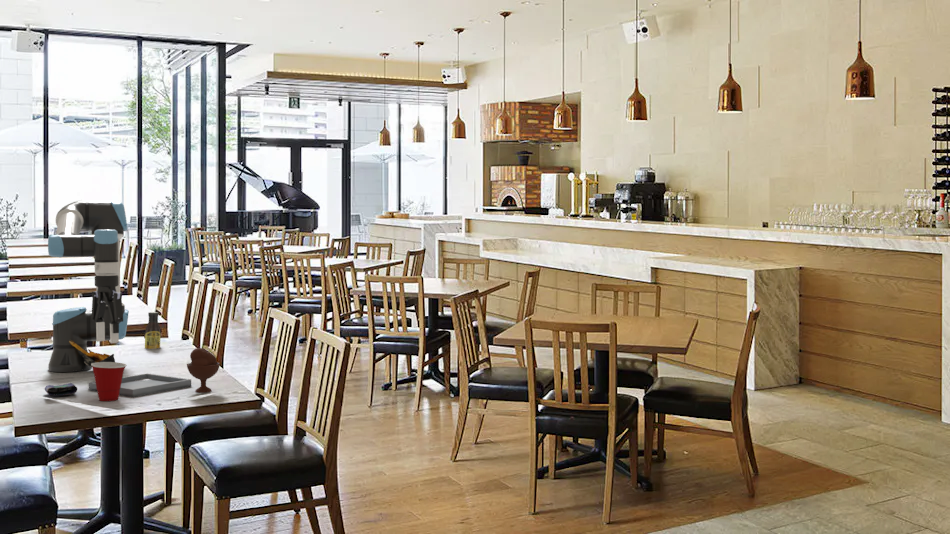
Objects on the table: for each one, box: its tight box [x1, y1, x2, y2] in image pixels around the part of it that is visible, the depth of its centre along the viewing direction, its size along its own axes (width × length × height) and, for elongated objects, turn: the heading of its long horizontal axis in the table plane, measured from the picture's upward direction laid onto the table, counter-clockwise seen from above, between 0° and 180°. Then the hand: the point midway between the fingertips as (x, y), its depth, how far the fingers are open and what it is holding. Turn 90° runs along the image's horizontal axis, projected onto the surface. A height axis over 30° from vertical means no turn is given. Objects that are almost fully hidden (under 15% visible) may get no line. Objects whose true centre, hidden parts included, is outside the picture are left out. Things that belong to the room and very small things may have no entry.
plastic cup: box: [91, 361, 127, 402], centre depth 288 cm, size 11×11×12 cm
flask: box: [44, 382, 78, 396], centre depth 297 cm, size 9×3×11 cm
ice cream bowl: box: [186, 347, 221, 394], centre depth 303 cm, size 11×11×15 cm
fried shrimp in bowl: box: [69, 340, 116, 367], centre depth 334 cm, size 9×11×18 cm
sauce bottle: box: [144, 311, 161, 350], centre depth 381 cm, size 6×6×20 cm
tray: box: [88, 372, 192, 398], centre depth 309 cm, size 24×24×2 cm
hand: (107, 341), depth 302 cm, fingers open, 7 cm apart
